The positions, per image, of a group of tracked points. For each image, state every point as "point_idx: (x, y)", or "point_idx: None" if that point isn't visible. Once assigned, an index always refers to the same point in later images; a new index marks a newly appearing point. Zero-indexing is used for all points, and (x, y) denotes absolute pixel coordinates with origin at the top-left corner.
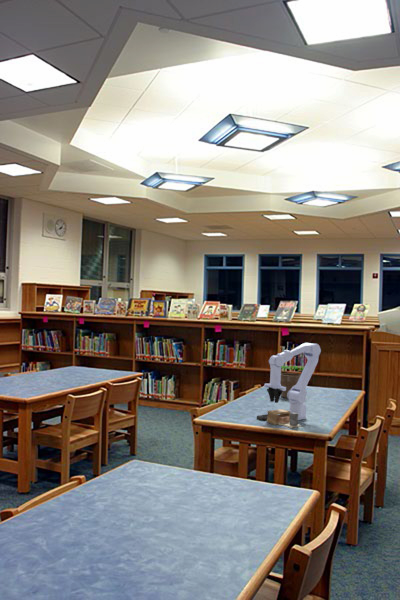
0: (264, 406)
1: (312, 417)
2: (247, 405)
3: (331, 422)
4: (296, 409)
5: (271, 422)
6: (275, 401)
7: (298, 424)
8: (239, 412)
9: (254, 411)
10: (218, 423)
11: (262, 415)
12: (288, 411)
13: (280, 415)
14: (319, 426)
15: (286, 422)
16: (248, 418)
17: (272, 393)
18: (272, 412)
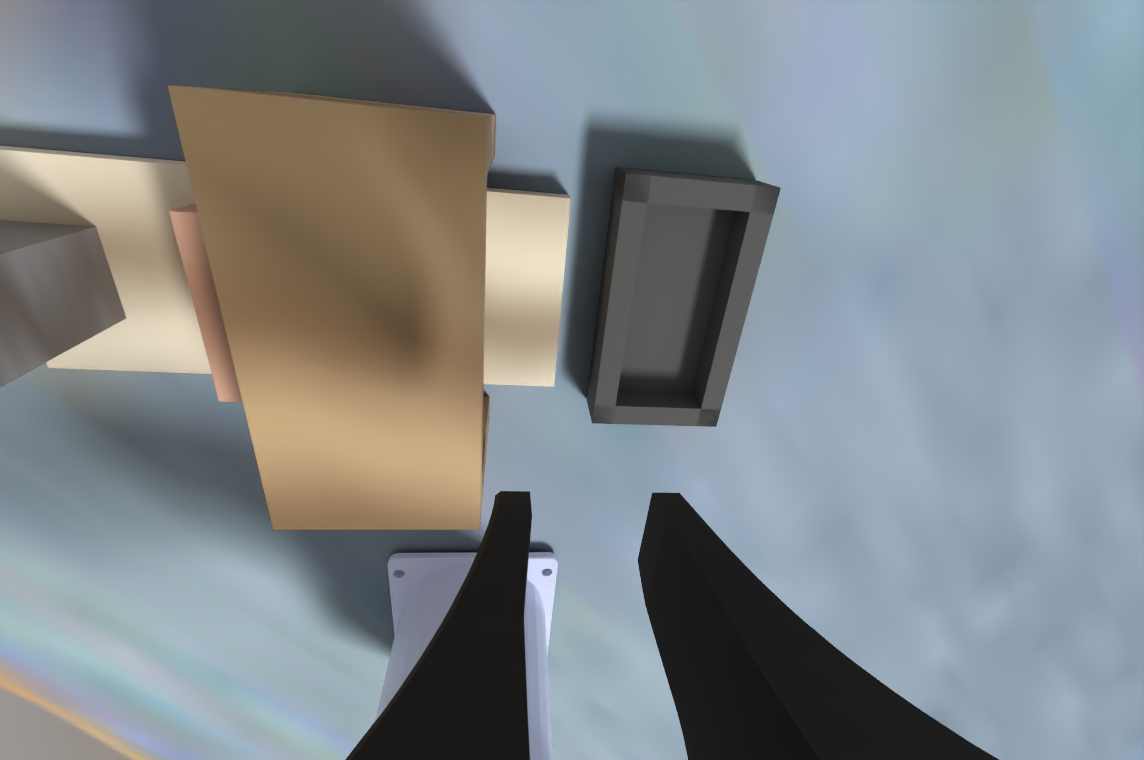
0: (963, 692)
1: None
2: (1117, 615)
3: (183, 737)
4: (398, 688)
5: (388, 103)
6: (497, 508)
7: (81, 367)
8: (1122, 307)
9: (969, 497)
10: None
11: (727, 295)
12: (266, 490)
13: None
14: (19, 554)
15: None
16: (873, 82)
17: (729, 748)
18: (310, 100)
